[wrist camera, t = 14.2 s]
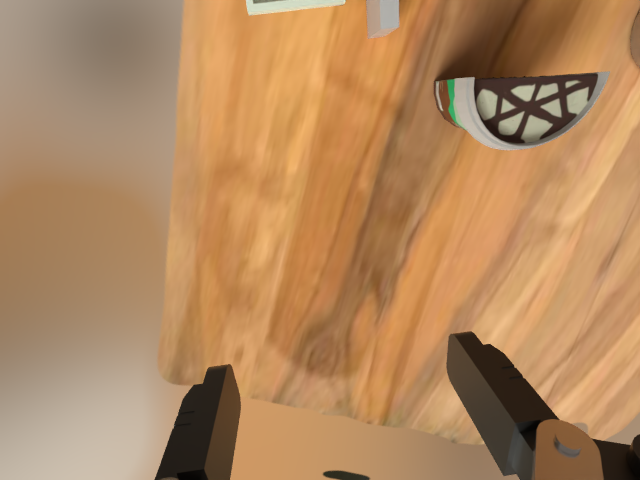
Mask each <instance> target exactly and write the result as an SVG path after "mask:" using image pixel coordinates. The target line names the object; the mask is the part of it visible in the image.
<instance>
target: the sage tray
mask: <svg viewBox="0 0 640 480" xmlns="http://www.w3.org/2000/svg"><path fill="white" fill-rule="evenodd" d="M345 2H346V0H246V4H247V10H248V14H249V16H250V15H259V14H267V13H276V12H285V11H294V10H302V9H311V8H320V7H329V6H337V5H344V3H345Z"/></svg>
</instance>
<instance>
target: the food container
mask: <svg viewBox="0 0 640 480" xmlns="http://www.w3.org/2000/svg"><path fill="white" fill-rule="evenodd" d="M609 73H610V72H597V73H582V74H568V75H554V76H539V77H525V76H524V77H513V78H512V77H509V78H503V77H501V78H494V77H493V78H487V79H483V78H482V79H475V77H468V78H455V79H452V80H443V81H434V97H435V101H436V105H437V108H438V110H439V111H440V113H441V114H442V116H443V117H444V119H445V120H447V121H448V122H450V123H451V124H452V125H454V126H456V127H459V128H461V129H464V130H467V131H468V132H469V133H470V134H471V135H472V136H473V137H474V138H475V139H476V140H477V141H479V142H480V143H482V144H484V145H486V146H488V147H491V148H494V149H499V150H519V149H527V148H533V147H536V146H540V145H543V144H545V143H547V142H549V141H552V140H554V139H556V138H558V137H560V136H561V135H563V134H564V133H566V132H568V131H569V130H570V129H571V128H573V127H574V126H575V125H576V124H577V123H578V122H579V121H580V120H581V119H582V118H583V117H584V116H585V115H586V114H587V113H588V112H589V110H590V109H591V108H592V107H593V105H594V104H595V102H596V101H597V99H598V97H599V96H600V94H601V92H602V90H603V88H604V86H605V84H606V81H607V79H608V76H609Z"/></svg>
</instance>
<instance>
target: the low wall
mask: <svg viewBox="0 0 640 480" xmlns="http://www.w3.org/2000/svg"><path fill="white" fill-rule="evenodd" d="M366 5H367V28H368V39H369V38H377V37H384V36H386V35H387V34H389V33H391V32H392V31H394V30H395V29H397V28H399V0H366Z"/></svg>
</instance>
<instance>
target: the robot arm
mask: <svg viewBox="0 0 640 480" xmlns="http://www.w3.org/2000/svg"><path fill="white" fill-rule="evenodd" d="M630 42H631V53H632V57H633V59H634V61H635V63H636V65H637V66H638V67H639V68H640V11H639V13H638V15H637V17H636V19H635V23H634V26H633V29H632V34H631V40H630ZM447 373H448V376H449V379H450V382H451V384H452V385H453V387H454V389H455V391H456V393H457V394H458V396H459V398H460V400H461V401H462V403H463V405H464V407H465V408H466V410H467V412H468V414H469V416H470V417H471V419H472V421H473V423H474V424H475V426H476V428H477V430H478V431H479V433H480V435H481V437H482V439H483V440H484V442H485V444H486V446H487V447H488V449H489V451H490V453H491V455H492V456H493V458H494V460H495V462H496V463H497V465H498V467H499V468H500V470H501V472H502V474H503V475H504V476H506V475H512V474H517V475H518V477H519V479H520V480H640V435H637V436H636V437H635V438H634V440H633V442H632V444H631V445H626V444H620V443H614V442H607V441H601V440H596V439H592V438H590V437H589V436H588V435H587V434H586V433H585V432H584V431H582V430H581V429H579V428H578V427H576V426H574V425H572V424H570V423H568V422H565V421H562V420H559V418H558V417H557V416H556V415H555V414H554V413H553V412H552V410H551V409H550V408H549V407H548V406H547V404H546V403H545V402H544V401H543V400H542V398H541V397H540V396H539V395H538V394H537V392H536V391H535V390H534V389H533V388H532V386H531V385H530V384H529V383H528V382H527V380H526V379H525V378H523V376H522V374H521V373H520V372H519V371H518V370H517V368H515V367H514V365H513V364H512V362H511V361H510V360H509V359H508V358H507V356H506V355H505V354H504V353H503V352H501V351H500V350H498V349H497V348H495V347H494V346H492V345H491V344H486V345H483V344H482V343H481V341H480V340H479V339H478V338H477V336H476V335H475V334H474V333H473V332H471V331H470V332H463V333H455V334H450V336H449V341H448V353H447ZM240 410H241V402H240V394H239V390H238V387H237V383H236V380H235V376H234V372H233V369H232V366H231V365H230V364H228V365H221V366H214V367H209V368H208V369H207V372H206V375H205V378H204V382H203V384H197V385H193V387H192V388H191V389H190V390H189V392H188V393H187V394H186V396H185V397H184V399H183V401H182V404H181V407H180V409H179V412H178V416H177V418H176V421H175V424H174V429H173V430H172V432H171V435H170V438H169V441H168V444H167V447H166V449H165V452H164V455H163V458H162V461H161V464H160V466H159V469H158V472H157V475H156V477H155V480H230V475H231V469H232V463H233V456H234V450H235V443H236V437H237V430H238V424H239V417H240Z"/></svg>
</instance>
